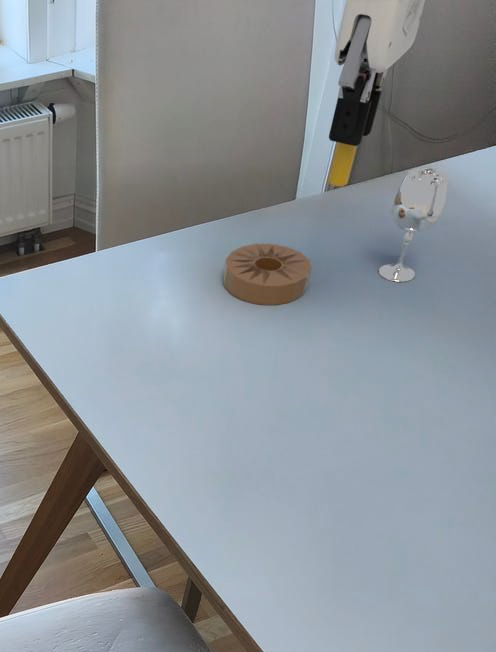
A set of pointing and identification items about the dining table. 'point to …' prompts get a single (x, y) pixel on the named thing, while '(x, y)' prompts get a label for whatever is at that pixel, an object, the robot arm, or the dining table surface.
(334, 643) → the dining table surface
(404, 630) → the dining table surface
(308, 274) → the brown sunburst ring
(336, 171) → the pencil
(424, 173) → the wineglass
